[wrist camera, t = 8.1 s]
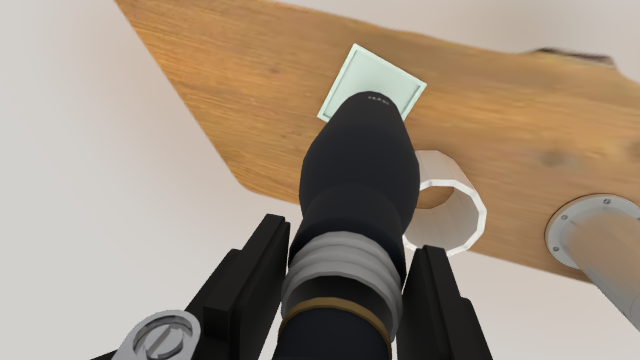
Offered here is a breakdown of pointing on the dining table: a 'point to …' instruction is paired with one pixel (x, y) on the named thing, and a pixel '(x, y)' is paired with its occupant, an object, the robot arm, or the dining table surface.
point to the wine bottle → (350, 236)
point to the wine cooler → (446, 208)
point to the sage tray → (371, 82)
